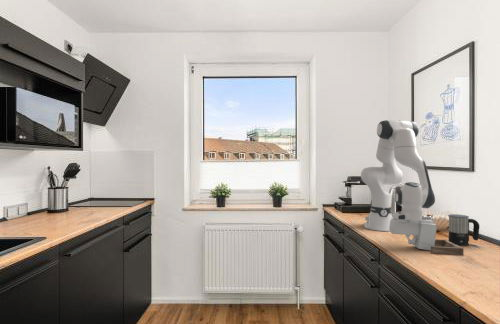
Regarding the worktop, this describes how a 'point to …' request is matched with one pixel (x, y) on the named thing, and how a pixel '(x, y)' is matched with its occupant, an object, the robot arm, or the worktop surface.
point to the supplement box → (426, 236)
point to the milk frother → (461, 229)
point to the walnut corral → (446, 248)
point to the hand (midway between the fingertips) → (411, 243)
